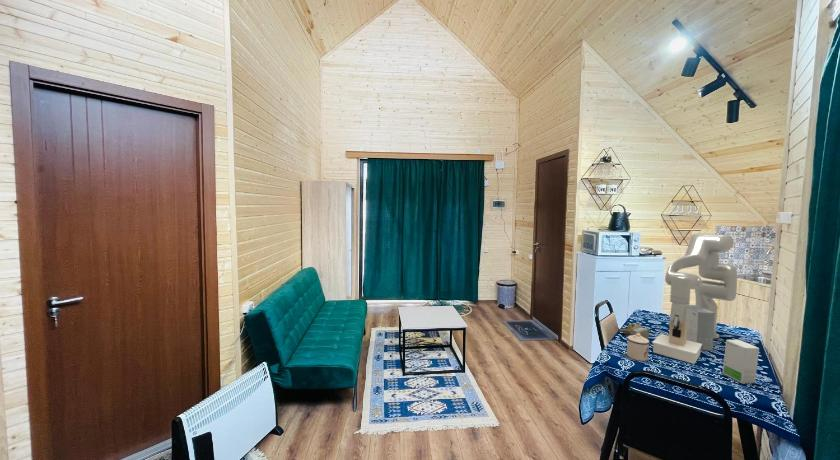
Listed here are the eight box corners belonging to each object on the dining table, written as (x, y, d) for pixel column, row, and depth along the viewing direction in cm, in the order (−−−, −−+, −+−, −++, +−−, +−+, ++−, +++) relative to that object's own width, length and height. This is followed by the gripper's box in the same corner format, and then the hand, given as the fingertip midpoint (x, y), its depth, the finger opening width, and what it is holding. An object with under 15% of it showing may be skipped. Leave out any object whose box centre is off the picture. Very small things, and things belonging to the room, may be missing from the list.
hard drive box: (713, 351, 162) (715, 313, 161) (696, 350, 164) (698, 312, 162) (693, 339, 177) (695, 304, 176) (678, 338, 179) (680, 303, 178)
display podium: (660, 343, 172) (661, 333, 171) (701, 354, 159) (702, 343, 159) (651, 352, 161) (652, 342, 160) (695, 364, 148) (696, 353, 148)
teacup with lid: (648, 363, 149) (650, 339, 148) (625, 358, 154) (627, 334, 153) (648, 353, 159) (649, 331, 158) (626, 349, 164) (627, 327, 163)
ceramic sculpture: (641, 326, 172) (617, 319, 186) (641, 342, 172) (617, 334, 186) (656, 325, 175) (631, 318, 189) (656, 341, 175) (631, 332, 189)
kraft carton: (671, 339, 163) (672, 318, 163) (686, 343, 159) (687, 321, 158) (668, 342, 160) (669, 320, 159) (683, 346, 156) (685, 323, 155)
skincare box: (722, 373, 140) (724, 339, 139) (735, 373, 140) (738, 339, 139) (742, 384, 131) (745, 347, 131) (757, 383, 132) (759, 347, 131)
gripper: (674, 295, 167) (672, 329, 168) (666, 301, 155) (664, 337, 156) (692, 298, 161) (690, 333, 162) (685, 304, 150) (683, 342, 151)
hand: (677, 334), depth 159 cm, fingers open, 5 cm apart
